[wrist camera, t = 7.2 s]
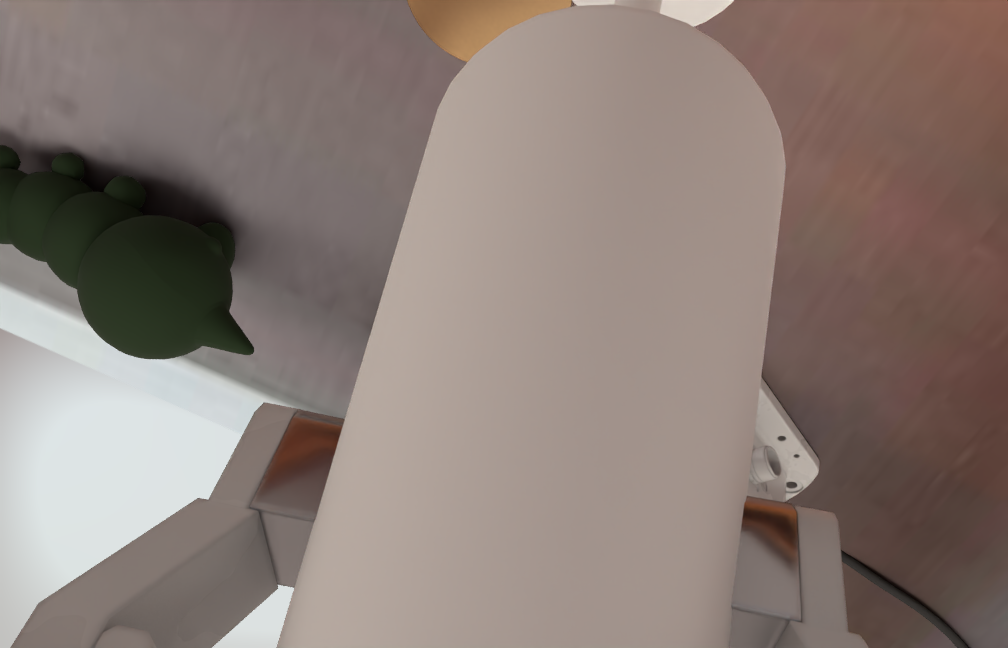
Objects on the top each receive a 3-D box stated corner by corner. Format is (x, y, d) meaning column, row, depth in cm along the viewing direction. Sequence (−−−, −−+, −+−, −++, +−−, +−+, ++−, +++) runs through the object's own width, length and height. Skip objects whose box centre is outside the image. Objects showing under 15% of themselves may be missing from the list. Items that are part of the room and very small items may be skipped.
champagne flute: (706, -258, 23) (577, 549, 6) (810, -33, 26) (924, 904, 9) (497, -111, 26) (37, 659, 9) (613, 71, 29) (428, 886, 13)
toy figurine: (-2, 187, 66) (303, 317, 66) (-220, 357, 53) (161, 522, 53) (-21, 81, 60) (317, 225, 59) (-276, 245, 46) (159, 433, 46)
